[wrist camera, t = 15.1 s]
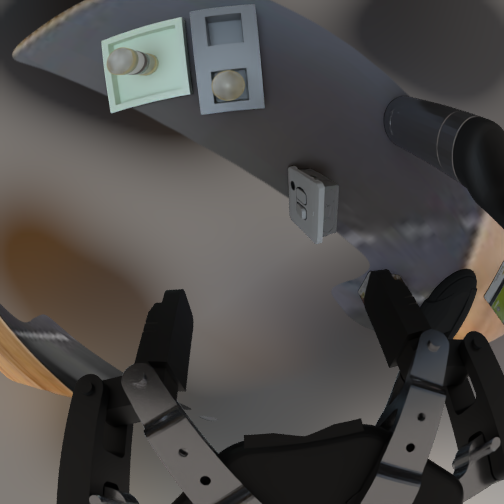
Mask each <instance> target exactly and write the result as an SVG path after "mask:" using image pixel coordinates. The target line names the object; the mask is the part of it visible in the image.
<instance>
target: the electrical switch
mask: <svg viewBox="0 0 504 504" xmlns="http://www.w3.org/2000/svg"><path fill="white" fill-rule="evenodd" d="M311 175H313V176H311ZM314 177H316V178H314ZM288 184H289V210H290V211H289V212H290V218H291V220H292V221H293V222H294V223H295V224H296V225H297V226H298V227H299V228H300V229H301V230H302V231H303V232H304V233H305V234H306V235H307V236H308V237H309V238H310V239H311V240H312V241H313V242H314V243H315V244H318V243H322V237H323V236H327V235H329V234H331V233H336V226H337V212H338V194H339V185H338V184H337V183H335V182H334V181H332V180H330V179H329V178H327V177H325V176H323V175H322V174H320V173H318V172H316V171H314V170H313V169H306V170H305V169H302V170H299V169H297V167H296V166H291V167H289V168H288ZM335 192H336V193H335ZM329 205H330V206H329ZM327 217H328V218H327ZM325 220H326V221H325ZM334 223H335V224H334Z"/></svg>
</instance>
